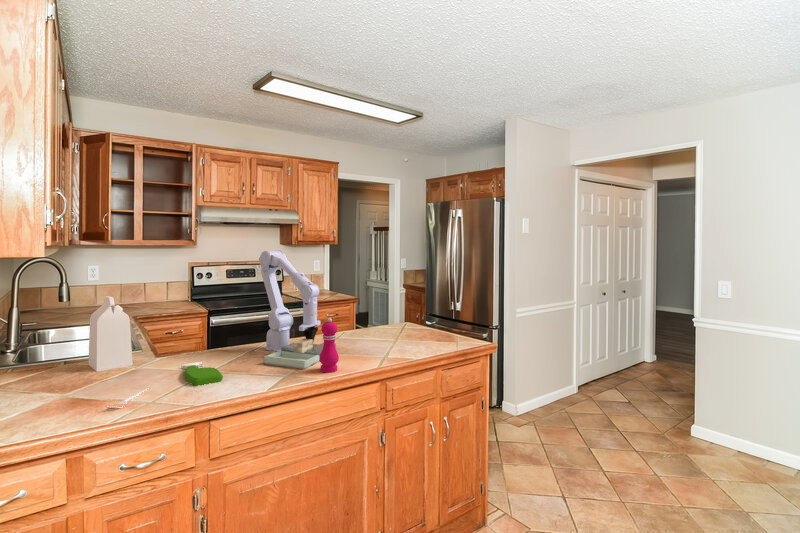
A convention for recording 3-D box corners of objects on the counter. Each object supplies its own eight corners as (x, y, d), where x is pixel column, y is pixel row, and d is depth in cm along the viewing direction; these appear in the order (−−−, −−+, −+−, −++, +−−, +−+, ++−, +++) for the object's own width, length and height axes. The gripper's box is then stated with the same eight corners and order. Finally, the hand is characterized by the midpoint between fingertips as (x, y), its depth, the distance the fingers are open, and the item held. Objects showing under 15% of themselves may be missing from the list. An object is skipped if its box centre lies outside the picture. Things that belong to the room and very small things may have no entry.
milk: (88, 364, 166) (86, 296, 165) (123, 358, 175) (121, 294, 173) (96, 371, 158) (95, 300, 157) (132, 365, 167) (131, 297, 165)
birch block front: (293, 352, 179) (293, 342, 178) (299, 349, 182) (299, 340, 182) (302, 353, 177) (302, 343, 177) (307, 350, 181) (307, 341, 181)
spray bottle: (191, 388, 144) (174, 371, 163) (225, 381, 151) (205, 366, 170) (191, 379, 144) (174, 363, 163) (225, 373, 151) (205, 358, 170)
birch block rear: (299, 350, 182) (299, 340, 182) (304, 347, 186) (304, 338, 186) (307, 351, 181) (307, 341, 181) (312, 348, 185) (312, 339, 185)
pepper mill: (342, 370, 166) (343, 318, 165) (327, 374, 160) (327, 320, 159) (330, 366, 171) (331, 315, 169) (315, 370, 165) (315, 317, 164)
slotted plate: (281, 356, 183) (281, 347, 183) (299, 348, 196) (299, 340, 196) (319, 361, 177) (319, 351, 177) (335, 353, 190) (335, 344, 190)
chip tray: (264, 364, 172) (264, 356, 172) (281, 356, 182) (281, 349, 182) (304, 369, 166) (304, 361, 166) (319, 361, 177) (319, 353, 177)
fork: (155, 389, 143) (155, 384, 143) (115, 412, 123) (115, 406, 123) (145, 389, 143) (145, 384, 143) (104, 412, 123) (103, 406, 123)
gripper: (309, 316, 178) (309, 349, 179) (326, 311, 192) (326, 341, 192) (294, 315, 180) (294, 347, 181) (312, 309, 194) (312, 340, 195)
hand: (310, 344), depth 187 cm, fingers closed
